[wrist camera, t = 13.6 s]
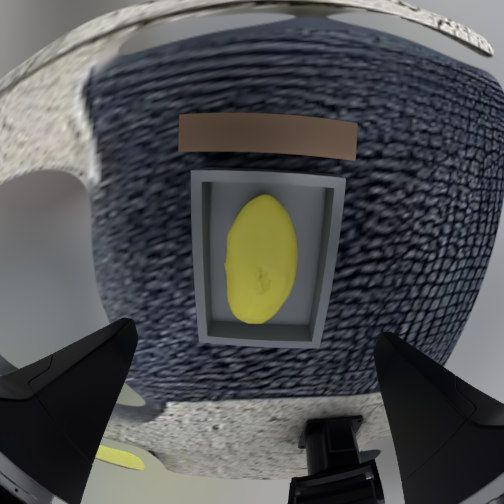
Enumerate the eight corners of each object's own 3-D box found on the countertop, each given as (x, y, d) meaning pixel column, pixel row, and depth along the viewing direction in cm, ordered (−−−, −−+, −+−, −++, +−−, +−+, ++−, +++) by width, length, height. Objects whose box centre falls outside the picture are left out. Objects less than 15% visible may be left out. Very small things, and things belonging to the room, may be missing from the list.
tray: (314, 327, 20) (319, 348, 17) (206, 321, 20) (199, 342, 18) (334, 174, 16) (346, 178, 13) (201, 167, 16) (190, 170, 14)
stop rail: (340, 158, 15) (355, 160, 13) (193, 151, 16) (178, 152, 13) (342, 127, 15) (357, 123, 12) (194, 120, 15) (179, 114, 12)
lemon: (221, 301, 19) (211, 335, 15) (237, 184, 16) (229, 194, 12) (281, 310, 19) (283, 346, 15) (307, 197, 16) (319, 211, 12)
